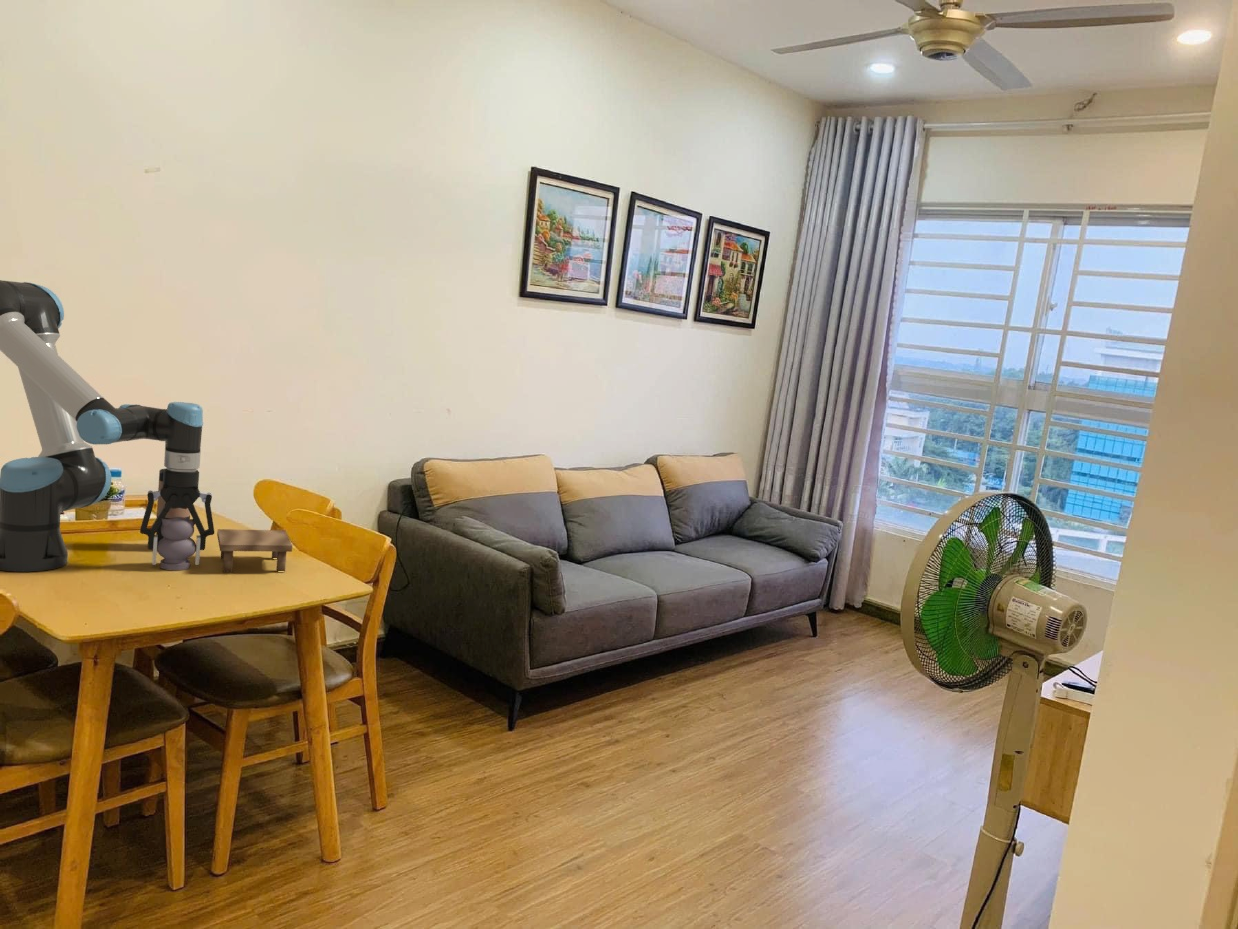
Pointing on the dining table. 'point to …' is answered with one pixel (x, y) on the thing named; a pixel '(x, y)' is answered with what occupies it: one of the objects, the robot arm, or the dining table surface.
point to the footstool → (253, 544)
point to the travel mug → (172, 512)
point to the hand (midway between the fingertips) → (175, 563)
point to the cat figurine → (176, 543)
